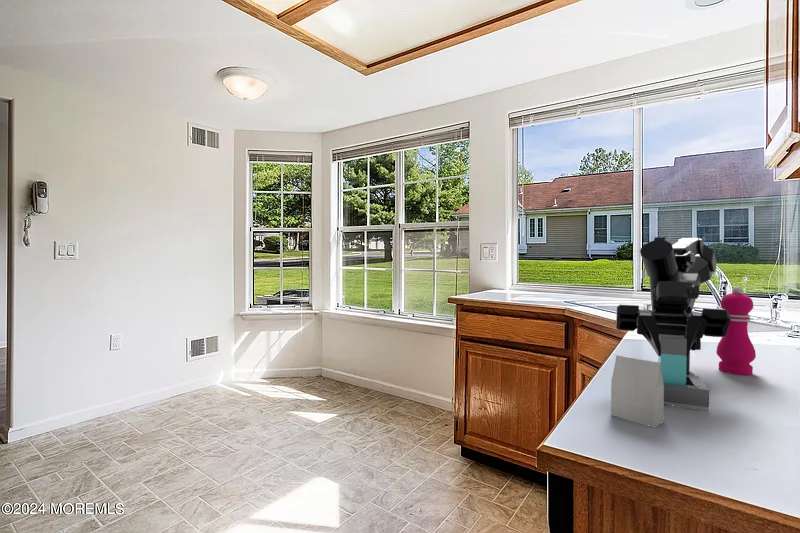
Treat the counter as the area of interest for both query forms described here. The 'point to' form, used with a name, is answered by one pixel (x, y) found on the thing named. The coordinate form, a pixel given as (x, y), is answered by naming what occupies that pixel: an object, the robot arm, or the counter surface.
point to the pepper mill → (736, 335)
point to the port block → (687, 394)
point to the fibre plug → (673, 358)
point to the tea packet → (637, 390)
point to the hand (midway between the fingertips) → (673, 356)
